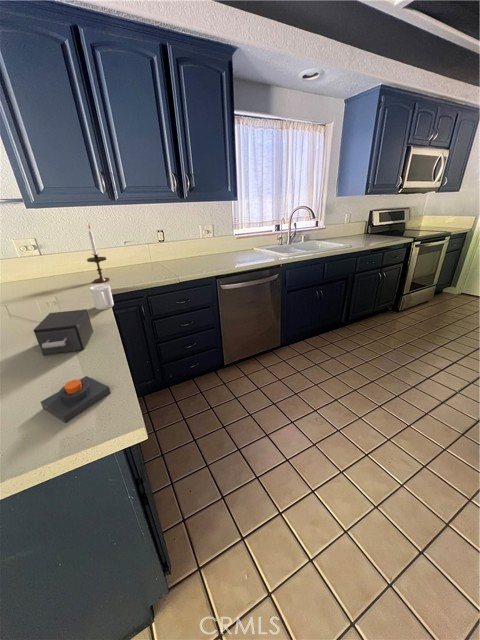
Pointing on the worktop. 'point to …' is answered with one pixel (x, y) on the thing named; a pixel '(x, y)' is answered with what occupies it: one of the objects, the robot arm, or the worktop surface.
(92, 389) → the block
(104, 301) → the cup
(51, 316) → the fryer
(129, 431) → the worktop surface
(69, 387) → the button
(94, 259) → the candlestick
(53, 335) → the drawer
